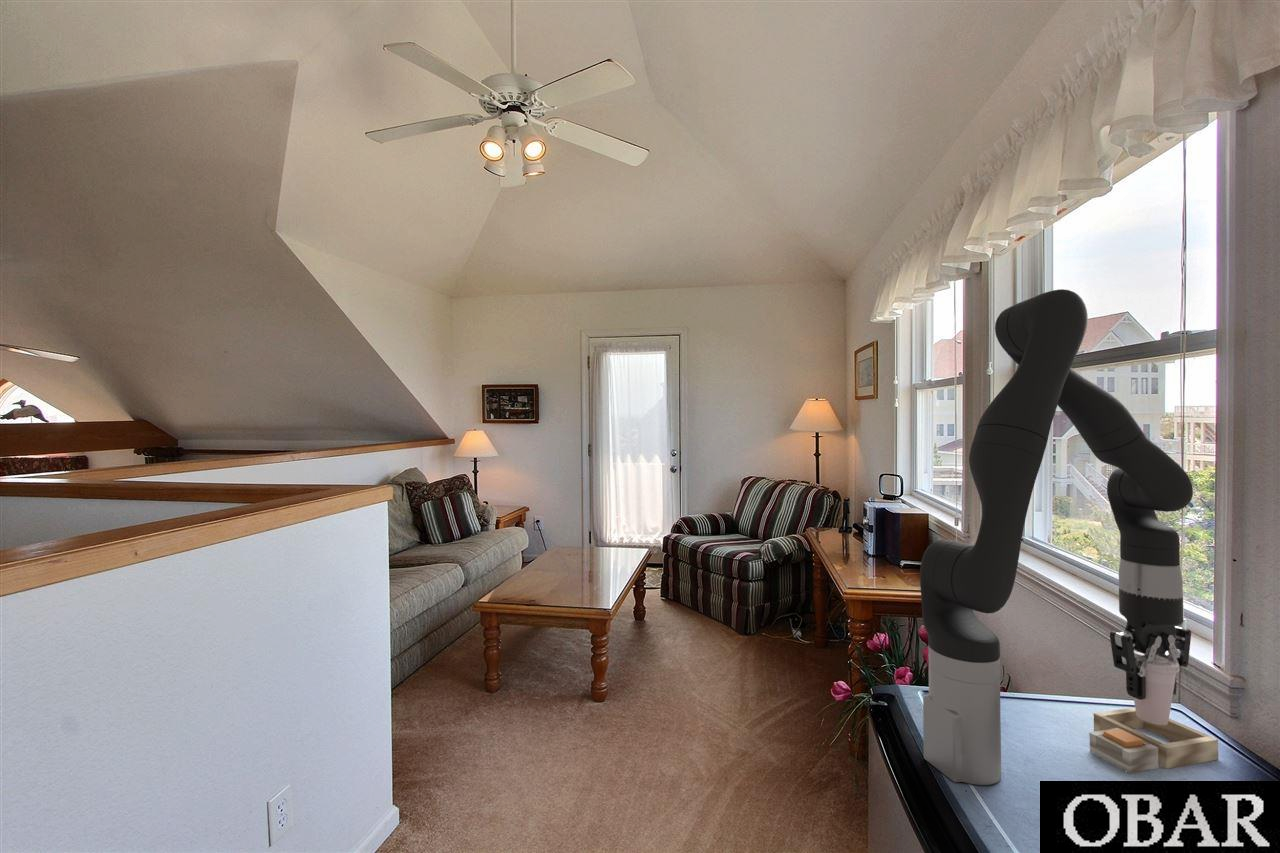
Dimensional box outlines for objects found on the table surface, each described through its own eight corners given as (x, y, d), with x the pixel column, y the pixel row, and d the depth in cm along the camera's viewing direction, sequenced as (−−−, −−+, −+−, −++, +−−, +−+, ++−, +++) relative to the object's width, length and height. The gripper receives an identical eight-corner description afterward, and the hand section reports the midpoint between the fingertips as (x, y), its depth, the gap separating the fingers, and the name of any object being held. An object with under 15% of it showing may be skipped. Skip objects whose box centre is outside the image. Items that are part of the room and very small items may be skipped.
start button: (1126, 758, 81) (1126, 742, 81) (1103, 746, 84) (1103, 731, 84) (1143, 755, 81) (1142, 739, 82) (1119, 744, 85) (1119, 728, 85)
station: (1132, 775, 79) (1132, 754, 79) (1062, 736, 89) (1062, 718, 89) (1218, 759, 83) (1218, 739, 83) (1141, 724, 93) (1141, 706, 93)
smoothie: (1191, 732, 83) (1190, 640, 83) (1142, 727, 84) (1141, 637, 85) (1160, 711, 89) (1159, 625, 90) (1115, 707, 91) (1114, 623, 91)
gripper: (1142, 599, 82) (1144, 712, 82) (1212, 593, 85) (1214, 701, 85) (1090, 586, 89) (1092, 689, 89) (1156, 580, 92) (1158, 680, 92)
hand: (1151, 694), depth 87 cm, fingers closed on smoothie, 5 cm apart
